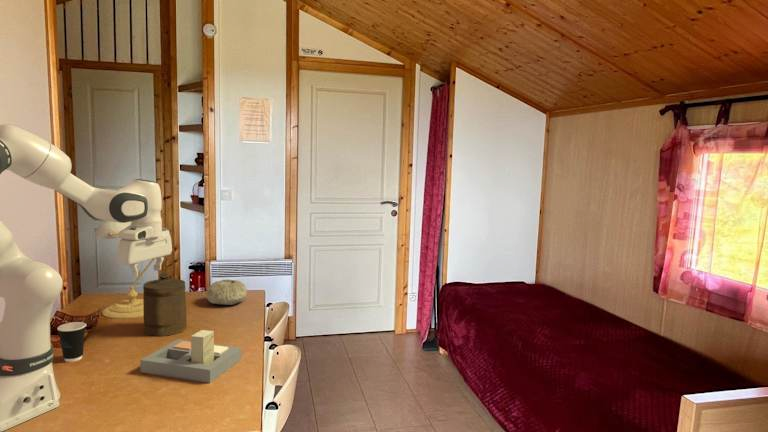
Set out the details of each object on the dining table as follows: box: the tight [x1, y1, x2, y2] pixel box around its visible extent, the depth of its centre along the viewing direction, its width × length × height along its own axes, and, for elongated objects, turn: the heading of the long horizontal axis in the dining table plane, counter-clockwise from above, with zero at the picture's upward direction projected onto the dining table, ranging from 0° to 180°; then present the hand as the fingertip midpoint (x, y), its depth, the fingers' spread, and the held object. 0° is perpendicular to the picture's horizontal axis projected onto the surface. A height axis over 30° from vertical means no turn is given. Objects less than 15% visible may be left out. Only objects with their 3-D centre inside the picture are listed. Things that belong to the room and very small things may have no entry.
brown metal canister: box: [142, 272, 187, 337], centre depth 186 cm, size 15×15×22 cm
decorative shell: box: [205, 279, 248, 306], centre depth 222 cm, size 18×18×10 cm
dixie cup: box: [56, 321, 87, 363], centre depth 158 cm, size 8×8×11 cm
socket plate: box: [139, 338, 242, 384], centre depth 156 cm, size 18×24×4 cm
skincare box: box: [190, 329, 215, 365], centre depth 152 cm, size 6×4×12 cm
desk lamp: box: [92, 221, 156, 320], centre depth 206 cm, size 31×23×40 cm
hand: (147, 273), depth 157 cm, fingers open, 8 cm apart
